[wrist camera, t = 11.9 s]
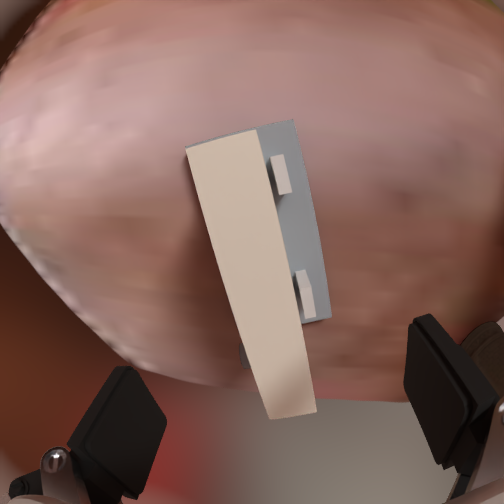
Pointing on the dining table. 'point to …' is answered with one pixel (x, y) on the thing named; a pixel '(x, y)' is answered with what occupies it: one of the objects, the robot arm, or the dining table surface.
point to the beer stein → (488, 353)
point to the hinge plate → (294, 216)
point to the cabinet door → (254, 269)
